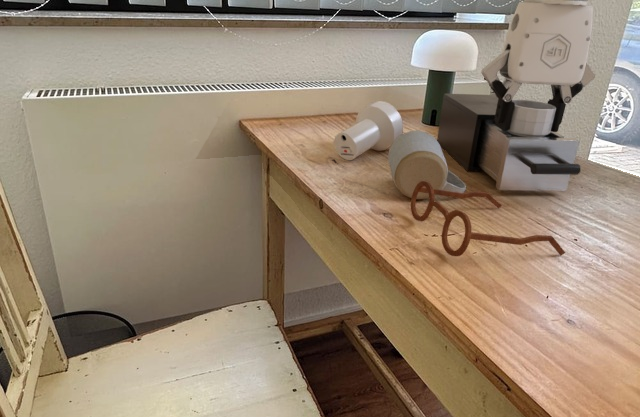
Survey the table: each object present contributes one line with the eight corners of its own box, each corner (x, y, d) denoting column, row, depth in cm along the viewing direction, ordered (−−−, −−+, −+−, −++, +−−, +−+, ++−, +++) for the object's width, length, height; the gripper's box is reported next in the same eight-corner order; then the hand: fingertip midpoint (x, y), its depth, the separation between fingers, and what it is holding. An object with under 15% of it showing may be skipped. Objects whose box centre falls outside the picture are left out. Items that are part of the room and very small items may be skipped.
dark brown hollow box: (534, 172, 78) (547, 116, 75) (467, 171, 77) (477, 114, 73) (493, 143, 92) (503, 95, 89) (436, 142, 91) (443, 93, 87)
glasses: (406, 213, 61) (411, 175, 59) (499, 207, 64) (506, 171, 62) (457, 267, 50) (465, 223, 48) (566, 257, 53) (578, 215, 51)
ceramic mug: (390, 201, 65) (397, 144, 62) (384, 178, 72) (391, 127, 69) (470, 206, 65) (482, 151, 61) (456, 184, 72) (466, 133, 69)
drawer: (585, 203, 65) (600, 150, 62) (513, 203, 64) (525, 149, 61) (518, 157, 82) (528, 114, 79) (461, 156, 81) (469, 113, 78)
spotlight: (408, 145, 84) (401, 99, 81) (369, 172, 77) (358, 123, 74) (371, 142, 90) (363, 99, 86) (331, 168, 83) (320, 122, 79)
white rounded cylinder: (557, 139, 68) (565, 110, 66) (513, 138, 67) (520, 108, 65) (535, 127, 73) (541, 100, 72) (494, 125, 73) (499, 98, 71)
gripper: (505, -12, 58) (477, 134, 66) (640, -4, 60) (598, 137, 68) (480, -13, 65) (458, 120, 72) (602, -5, 67) (568, 123, 74)
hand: (526, 127), depth 70 cm, fingers closed on white rounded cylinder, 6 cm apart
